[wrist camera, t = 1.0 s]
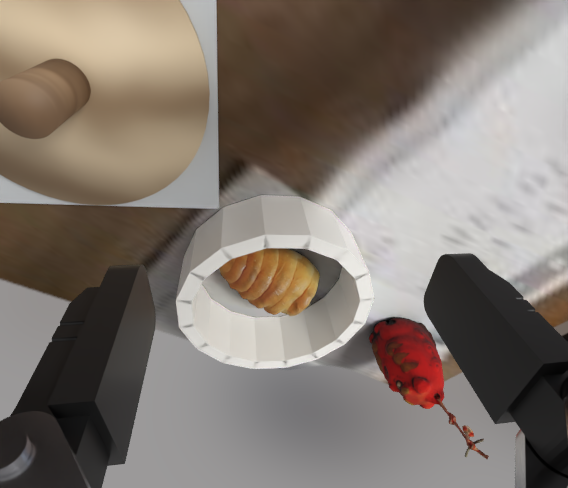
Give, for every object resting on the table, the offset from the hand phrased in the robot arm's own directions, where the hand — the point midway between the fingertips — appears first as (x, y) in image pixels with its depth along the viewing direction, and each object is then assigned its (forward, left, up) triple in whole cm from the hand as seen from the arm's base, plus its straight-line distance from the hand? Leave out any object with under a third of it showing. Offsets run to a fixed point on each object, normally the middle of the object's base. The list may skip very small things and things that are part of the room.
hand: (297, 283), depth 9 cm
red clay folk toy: (+26, +18, -18) cm, 36 cm away
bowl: (+16, +2, -18) cm, 24 cm away
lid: (0, -12, -18) cm, 21 cm away
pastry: (+16, +2, -19) cm, 25 cm away
